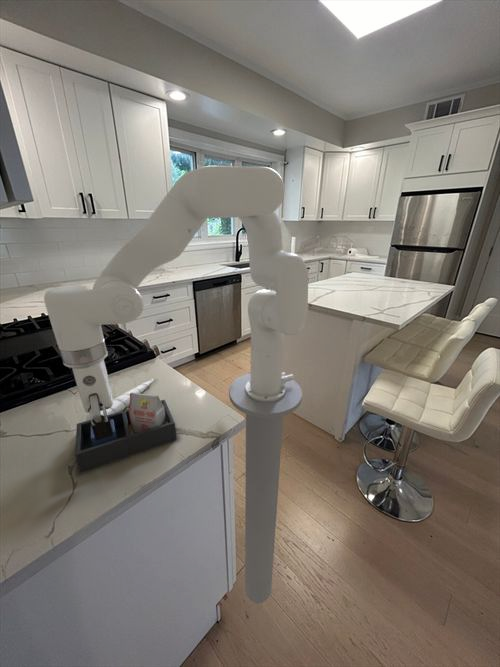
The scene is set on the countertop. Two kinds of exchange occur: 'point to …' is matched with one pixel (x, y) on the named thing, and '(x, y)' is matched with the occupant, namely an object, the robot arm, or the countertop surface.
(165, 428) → the sorter
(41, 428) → the countertop surface
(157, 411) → the white printed box
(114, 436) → the block
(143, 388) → the unicorn horn
